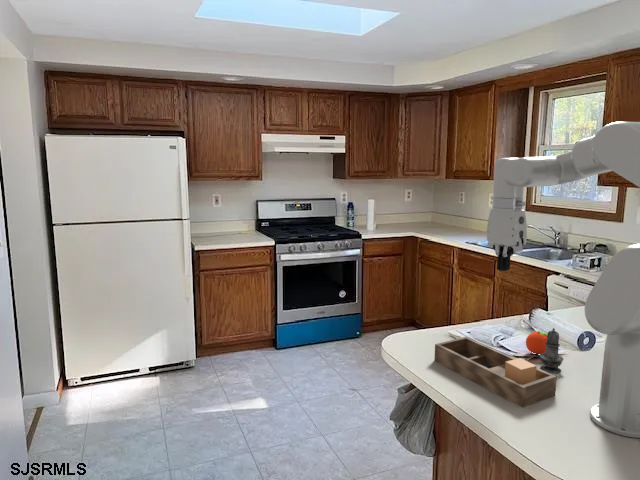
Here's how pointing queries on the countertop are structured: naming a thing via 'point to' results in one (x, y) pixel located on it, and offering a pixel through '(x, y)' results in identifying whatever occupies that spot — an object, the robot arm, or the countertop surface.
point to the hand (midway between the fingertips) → (503, 269)
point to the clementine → (537, 342)
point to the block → (520, 371)
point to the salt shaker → (551, 354)
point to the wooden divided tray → (492, 371)
